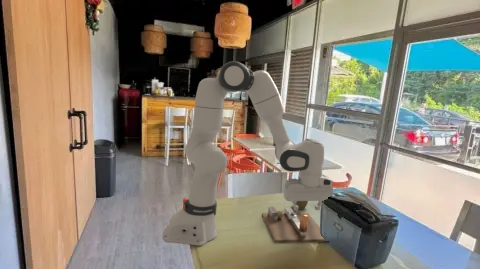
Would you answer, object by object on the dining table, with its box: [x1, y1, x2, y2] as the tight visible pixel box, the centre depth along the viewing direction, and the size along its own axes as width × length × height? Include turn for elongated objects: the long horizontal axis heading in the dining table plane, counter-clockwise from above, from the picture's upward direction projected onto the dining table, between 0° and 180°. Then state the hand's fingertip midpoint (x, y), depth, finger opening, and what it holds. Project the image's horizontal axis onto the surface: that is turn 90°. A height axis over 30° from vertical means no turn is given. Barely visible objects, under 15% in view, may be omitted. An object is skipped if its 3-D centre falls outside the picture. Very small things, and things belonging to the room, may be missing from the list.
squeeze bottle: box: [295, 201, 309, 211], centre depth 141 cm, size 8×8×18 cm
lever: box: [284, 206, 310, 236], centre depth 121 cm, size 4×22×9 cm, turn 9°
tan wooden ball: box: [277, 210, 284, 219], centre depth 126 cm, size 4×4×4 cm
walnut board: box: [261, 206, 325, 244], centre depth 120 cm, size 24×23×6 cm
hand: (306, 209), depth 111 cm, fingers open, 8 cm apart
